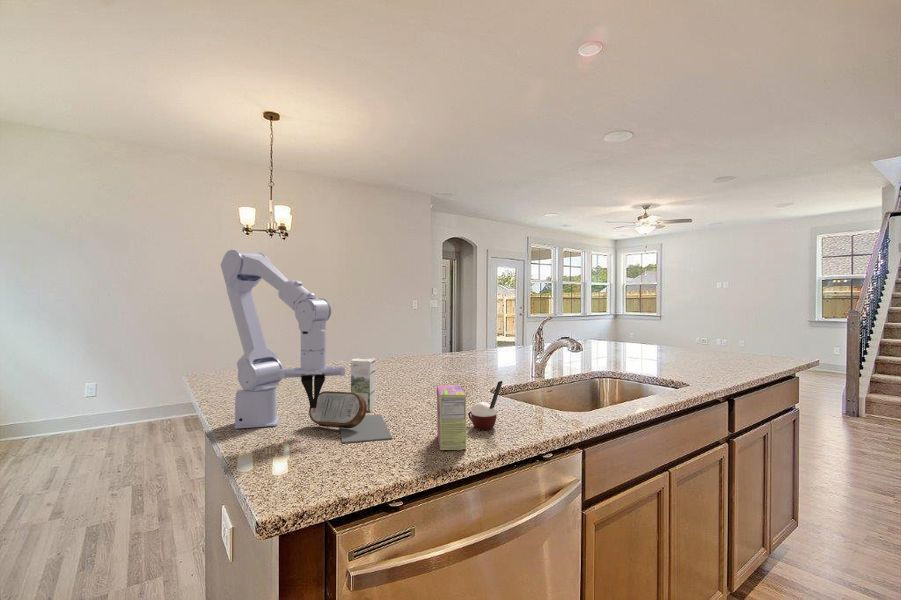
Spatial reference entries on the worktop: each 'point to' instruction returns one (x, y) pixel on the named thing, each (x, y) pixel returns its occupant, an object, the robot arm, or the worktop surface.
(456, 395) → the box
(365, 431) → the mat
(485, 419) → the cocoa
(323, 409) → the tin
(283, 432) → the worktop surface
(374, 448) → the worktop surface
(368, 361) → the syrup box
